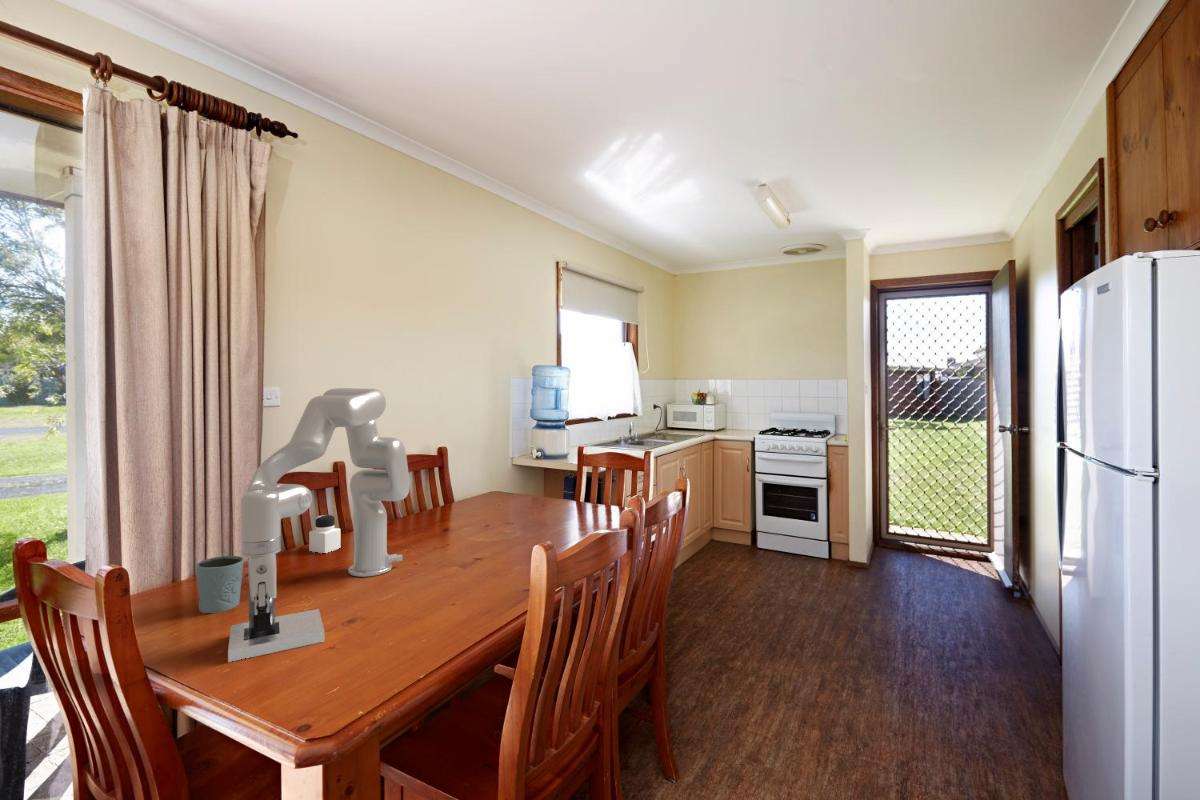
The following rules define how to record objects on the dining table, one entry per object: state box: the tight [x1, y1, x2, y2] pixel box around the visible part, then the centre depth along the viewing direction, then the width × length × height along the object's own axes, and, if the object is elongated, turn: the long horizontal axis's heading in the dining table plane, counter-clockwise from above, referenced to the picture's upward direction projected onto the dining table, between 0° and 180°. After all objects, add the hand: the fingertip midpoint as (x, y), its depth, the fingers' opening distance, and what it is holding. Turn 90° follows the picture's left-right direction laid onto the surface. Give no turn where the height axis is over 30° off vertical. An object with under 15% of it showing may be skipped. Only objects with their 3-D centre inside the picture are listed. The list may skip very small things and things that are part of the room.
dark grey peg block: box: [248, 589, 276, 640], centre depth 123 cm, size 5×5×10 cm
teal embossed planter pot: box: [195, 555, 245, 614], centre depth 141 cm, size 10×10×12 cm
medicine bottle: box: [308, 514, 342, 554], centre depth 190 cm, size 7×7×12 cm
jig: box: [227, 608, 325, 663], centre depth 124 cm, size 18×14×2 cm
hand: (262, 625), depth 123 cm, fingers closed on dark grey peg block, 4 cm apart
